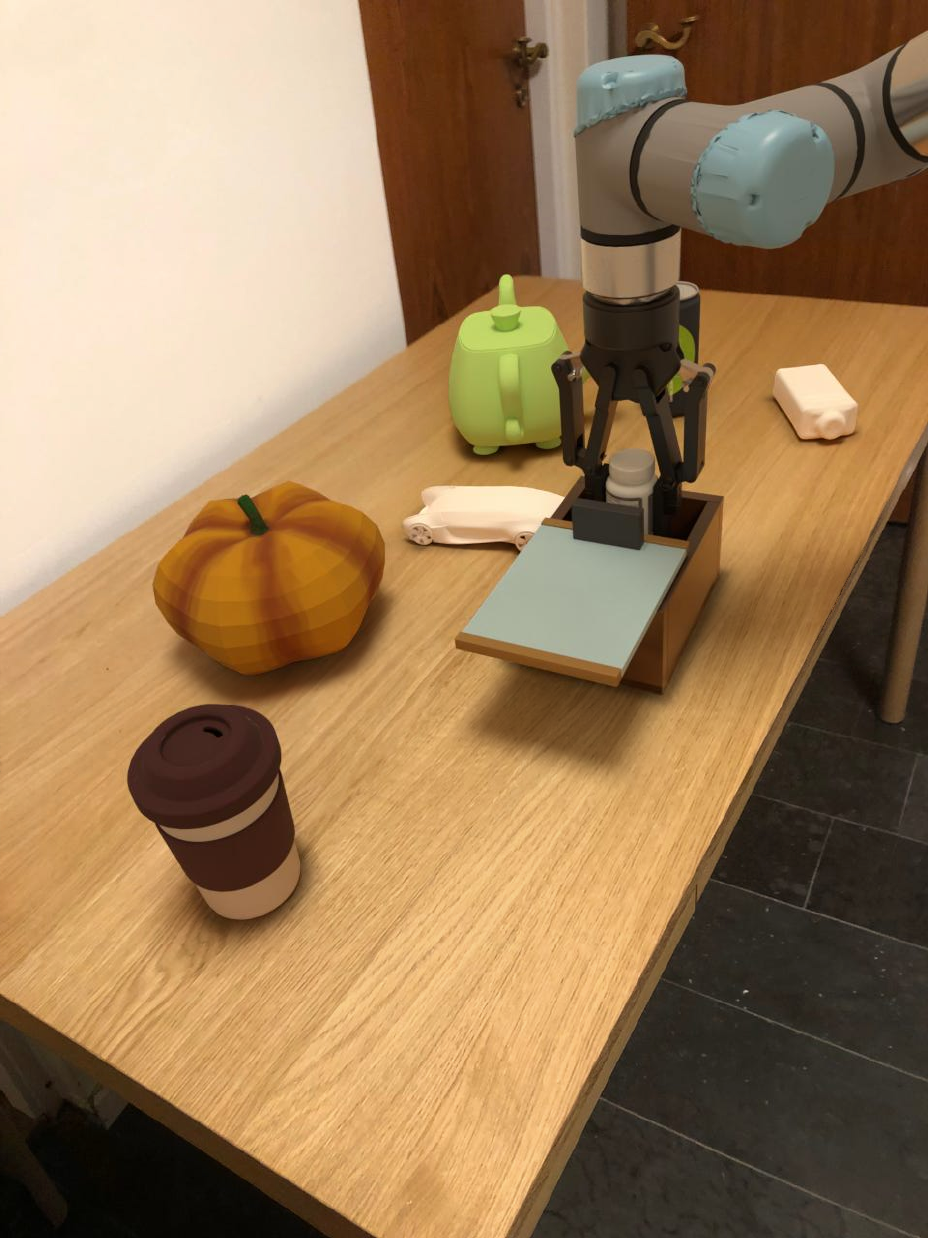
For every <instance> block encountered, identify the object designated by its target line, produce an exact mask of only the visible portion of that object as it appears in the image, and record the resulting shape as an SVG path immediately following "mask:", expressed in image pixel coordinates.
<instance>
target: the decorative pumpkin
mask: <svg viewBox="0 0 928 1238" xmlns="http://www.w3.org/2000/svg"><path fill="white" fill-rule="evenodd" d="M385 563H386V543H385V541H384V538H383V535H382V533H381V532H380V529H379V526H378V524H376V523H375V522H374V521H373V520H372V519H371V518H370V517H369V516H367V515H366V513H365V512H363V511H362V510H360V509H358V508H356V507H354V506H352V505H348V504H345V503H342V502H338V501H334V500H332V499H330V498H328V497H327V496H325V495H323V493H321V492H319V491H317V490H315V489H312V488H310V487H308V486H306V485H303V484H301V483H298V482H294V481H291V480H288V481H285V482H283V483H280V484H278V485H275V486H273V487H271V488H269V489H267V490H264V491H263V492H260V493H258V494H257V495H254V496H253V497H251V496H250V495H249V494H247V493H246V494H242V495H241V496H239V497H235V498H234V497H233V498H223V499H215V500H214V499H213V500H209V501H208V502H207V503H206V504H205V505H204V506H203V508H201V510H200V511H199V513H197V515H196V516H195V517H194V518H193V520H192V521H191V522H190V523H189V525H188V527H187V529H186V530H185V533H184V534H183V536H182V538H179V540H178V541H177V542H176V543H175V544H174V545H173V546H172V547H171V548H170V549H169V550H168V551H167V552H166V554H164V556H163V557H162V558H161V560H160V561H159V562H158V564H157V567H156V570H155V574H154V577H153V580H152V584H151V585H152V591H153V598H154V603H155V606H156V607H157V608H158V610H159V612H160V613H161V615H162V616H163V618H164V619H165V621H166V622H167V623H168V625H169V626H170V627H171V628H172V630H173V631H174V633H176V634H177V635H178V636H179V637H181V638H182V639H184V640H185V641H187V642H188V643H190V644H191V645H193V646H194V647H196V648H198V649H199V650H201V651H203V652H204V653H206V655H208V656H210V657H211V658H212V659H214V660H215V661H216V662H218V663H220V664H221V665H222V666H224V667H226V668H228V669H231V670H232V671H235V672H238V673H239V674H242V675H250V676H251V675H254V676H255V675H261V674H264V673H268V672H272V671H275V670H278V669H281V668H283V667H285V666H288V665H290V664H293V663H295V662H298V661H304V660H305V661H306V660H310V659H316V658H323V657H324V656H328V655H332V654H335V653H338V652H340V651H341V650H343V649H344V648H346V647H347V646H348V645H349V644H350V642H351V641H352V639H353V638H354V637H355V635H356V634H357V632H358V631H359V629H360V627H361V626H362V622H363V620H364V618H365V615H366V613H367V610H368V608H369V606H370V605H371V603H372V601H373V600H374V598H375V596H376V595H377V592H378V589H379V587H380V585H381V582H382V580H383V578H384V571H385Z"/></svg>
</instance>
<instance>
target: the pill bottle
mask: <svg viewBox="0 0 928 1238" xmlns="http://www.w3.org/2000/svg"><path fill="white" fill-rule="evenodd" d="M608 464H609V474H610V475H609V476H608V478H607V480H606V503H613V504H619V505H626V506H632V507H639V508H644V534H648V535H653V486H654V485H655V483H656V482H657V480H658V478H659V476H658V475H657V474H656V456H655V454H654V453H652V452H651V451H649V450H647V449H644V448H641V447H640V448H639V447H630V448H624V449H619V450H617V451H616V452H614V453H613V454H611V456H610V457H609V460H608Z"/></svg>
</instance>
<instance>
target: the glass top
mask: <svg viewBox="0 0 928 1238" xmlns="http://www.w3.org/2000/svg"><path fill="white" fill-rule="evenodd" d="M571 507H572V522H570V521H564V520H558V519H552V518H544V520H543V521H542V522H541V526H540V527H539V528H538V530H537V531H536V532H535V534H534V535H533V536H531V539H530V540H529V542H528V543H527V544H526V546H525V547H524V549H523V550H522V551H520V553H519V554H518V555H517V556H516V558H515V559H514V561H513V562H512V563H511V565H510V566H509V567H508V569H507V570H506V571H505V573H504V574H503V575H502V577H501V578H500V579H499V581H498V582H497V583H496V585H495V586H494V588H492V590H491V592H490V593H489V594H488V596H487V597H486V599H484V601H483V603H482V604H480V606H479V608H478V609H477V610H476V611H475V613H474V615H473V616H472V617H471V619H470V620H469V621H468V622H467V623H466V625H465V626H464V628H463V629H462V630H461V631H459V633H458V634H457V635H456V636H455V637H454V644H455V649H456V650H459V651H460V650H461V651H465V652H468V653H473V654H477V655H480V656H481V655H482V656H486V657H490V658H493V659H498V660H502V661H506V662H511V663H515V664H518V665H524V666H527V667H532V668H536V669H540V670H545V671H549V672H553V673H557V674H561V675H564V676H570V677H574V678H577V679H582V680H585V681H590V682H595V683H598V684H603V685H608V686H612V687H614V688H615V687H616V688H617V687H618V686H619V685H618V684H619V682H620V680H621V678H622V676H623V675H624V673H625V671H626V669H627V667H628V665H629V663H630V661H631V659H632V658H633V656H634V654H635V652H636V650H637V648H638V646H639V644H640V642H641V640H642V639H643V637H644V635H645V633H646V631H647V629H648V627H649V625H650V623H651V622H652V620H653V618H654V616H655V614H656V612H657V610H658V608H659V606H660V605H661V603H662V601H663V599H664V597H665V595H666V593H667V591H668V589H669V588H670V586H671V584H672V582H673V580H674V578H675V576H676V574H677V572H678V570H679V569H680V567H681V565H682V563H683V561H684V559H685V557H686V555H687V553H688V552H689V541H684V540H678V539H672V538H666V537H660V536H654V535H648V534H644V508H639V507H632V506H626V505H619V504H613V503H606V502H600V501H593V500H587V499H581V498H576V499H575V501H574V502H573V503H572V505H571Z"/></svg>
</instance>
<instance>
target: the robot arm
mask: <svg viewBox="0 0 928 1238" xmlns="http://www.w3.org/2000/svg"><path fill="white" fill-rule="evenodd" d="M685 77H686V76H685V68H684V65H683V63H682V62H681V61H679V59H678V58H675V57H674V56H672V55H667V54H666V55H665V54H640V55H630V56H622V57H616V58H611V59H607V60H602V61H599V62H596V63H594V64H592V65H590V66H588V67H586V68H585V69H584V70H583V71H582V72H581V73H580V74H579V76H578V77H577V81H576V85H575V127H574V131H573V132H572V135H573V138H574V143H575V144H574V145H575V146H574V147H575V158H576V159H575V160H576V161H575V163H576V178H577V179H576V180H577V198H578V215H579V227H580V234H579V236H580V237H579V239H580V277H581V286H582V288H583V289H584V290H585V292H584V293H583V294H582V318H583V319H582V320H583V335H584V343H583V346H582V348H581V350H579V351H576V352H572V351H571V350H569V351H565V352H563V353H562V354H561V356H560V357H559V358H558V359H557V360H556V361H555V362H554V363H553V364H552V366H551V371H552V373H553V376H554V378H555V381H556V383H557V386H558V388H559V401H560V418H561V452H562V453H561V454H562V462H563V463H564V465H565V466H567V467H574V466H575V467H576V468H579V469H580V470H581V471H582V472H583V476H584V477H585V498H586V499H587V500H593V501H600V502H606V480H607V478H608V476H609V475H610V474H609V462H608V463H606V462H604V460H605V459H606V458H607V456H608V454H606V453H607V448H608V444H609V441H610V437H611V432H612V428H613V424H614V420H615V415H616V412H617V407H618V404H619V402H622V401H623V402H624V401H630V402H633V403H635V404H639V406H640V410H641V413H642V416H643V417H645V419H646V424H647V428H648V430H649V435H650V439H651V443H652V447H653V450H654V456H655V460H656V462H657V466H658V470H659V474H660V475H659V476H658V480H657V482H656V483H655V485H654V486H653V535H654V536H660V537H666V538H668V537H669V535H670V519H671V515H672V516H675V514H676V512H677V510H678V509H679V507H680V505H681V502H682V498H681V497H682V490H683V483H687V484H693V483H695V482H696V481H698V478H699V476H700V474H701V472H702V471H703V469H704V467H705V464H706V444H707V443H706V442H707V441H706V440H707V419H708V417H707V416H708V396H709V395H708V394H709V388H710V386H711V384H712V382H713V379H714V377H715V376H716V373H717V368H716V366H715V365H714V364H713V363H712V362H706V363H704V364H702V365H700V364H699V363H698V364H696V363H693V362H691V361H689V360H686V359H685V357H684V353H683V351H682V349H681V347H680V344H679V310H680V290H679V288H678V286H677V285H676V283H677V282H678V281H680V280H681V257H682V256H681V255H682V253H681V252H682V228H683V229H686V230H689V231H693V232H696V233H699V234H702V235H705V236H709V237H712V238H714V239H715V240H718V241H721V242H722V243H724V244H727V245H728V244H732V245H734V246H737V247H752V248H758V249H764V250H775V249H780V248H784V247H786V246H789V245H791V244H793V243H795V242H796V241H797V240H799V239H800V238H801V237H802V236H803V232H804V231H805V230H806V229H807V228H808V227H810V226H813V225H814V224H815V223H816V221H817V220H818V219H819V217H820V216H821V214H822V213H823V211H824V209H825V207H826V205H829V204H831V203H833V202H834V203H835V202H836V201H838V200H841V199H843V198H847V197H850V196H853V195H855V194H856V195H857V194H859V193H862V192H865V191H868V190H871V189H874V188H877V187H880V186H884V185H890V184H894V183H897V182H899V181H903V180H905V179H907V178H910V177H913V176H916V175H918V174H919V173H921V172H923V171H924V170H925V169H927V168H928V30H925V31H923V32H922V33H920V34H918V35H916V36H915V37H913V38H911V39H909V41H908V42H906V43H904V44H902V45H900V46H897V47H896V48H894V49H893V50H890V51H888V52H887V53H885V54H884V55H882V56H879V58H876V59H875V60H873V61H872V62H869V63H868V64H866V65H864V66H862V67H860V68H858V69H855V70H852V71H851V72H847V73H845V74H842V75H839V76H836V77H833V78H829V79H827V80H823V81H820V82H816V83H811V84H808V85H805V86H802V87H799V88H794V89H792V90H788V91H787V90H786V91H784V92H780V93H776V94H773V95H769V96H766V97H763V98H760V99H756V100H752V101H749V102H745V103H740V104H733V105H725V104H714V103H705V102H704V103H703V102H698V101H695V100H691V99H687V98H686V97H687V94H688V88H687V87H686V86H687V85H686V78H685ZM584 367H585V369H586V370H587V371H588V373H589V374H590V378H591V379H592V380H593V381H594V383H595V384H596V385H597V387H598V388H597V392H596V393H597V394H596V398H595V403H594V414H593V418H592V422H591V428H590V431H589V436H588V439H587V444H586V434H585V433H586V432H585V412H584V411H585V410H584V389H583V388H584V387H583V386H584V383H582V374H583V373H584ZM676 374H678V375H680V377H681V378H682V388H683V391H684V392H688V393H687V396H686V400H685V408H684V414H683V449H682V450H683V451H682V453H681V449H680V445H679V440H678V437H677V432H676V428H675V423H674V420H673V416H672V415H671V411H670V407H669V392H668V388H667V385H668V383H669V382H670V381H671V380H672V379H673V377H674V376H675V375H676ZM603 462H604V463H603Z"/></svg>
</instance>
